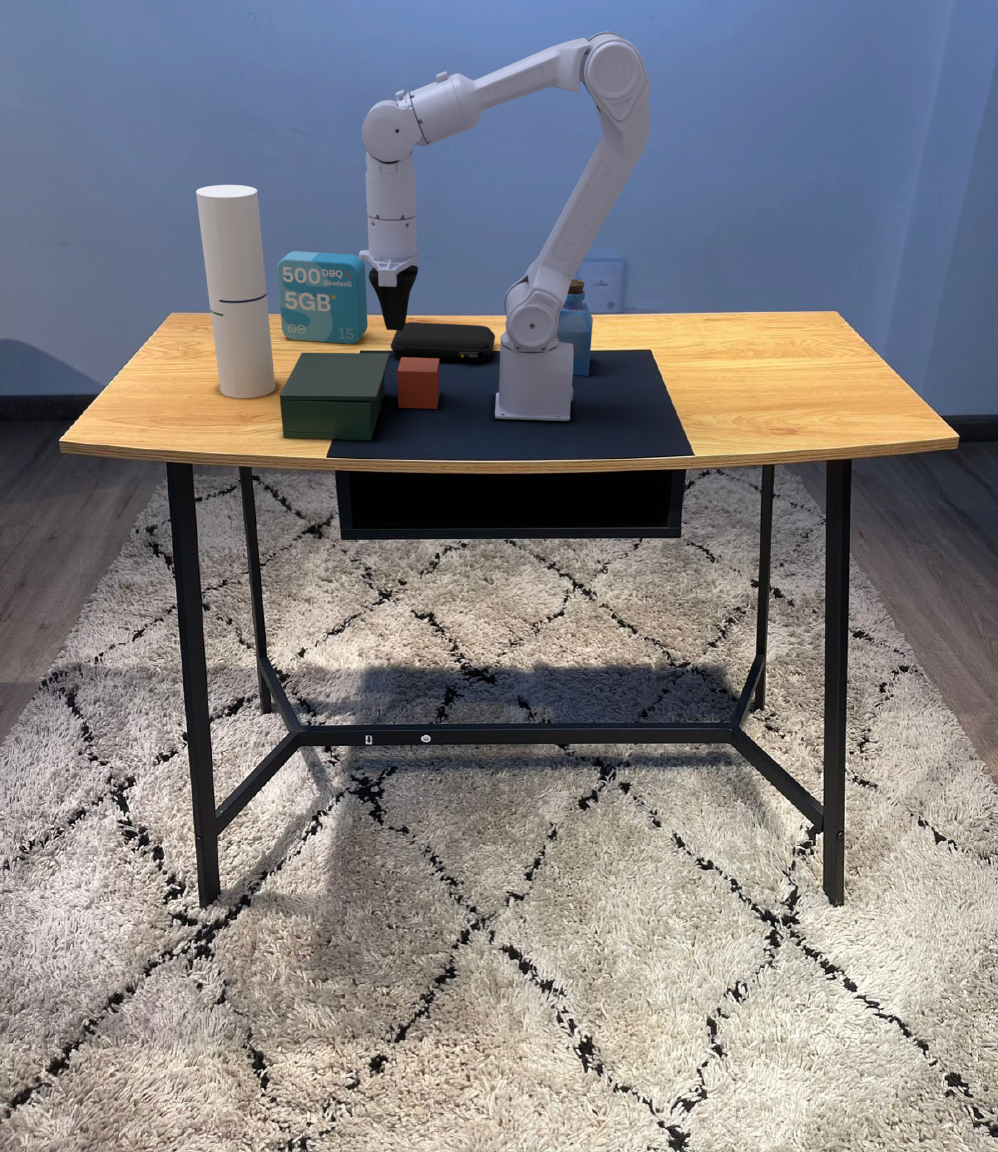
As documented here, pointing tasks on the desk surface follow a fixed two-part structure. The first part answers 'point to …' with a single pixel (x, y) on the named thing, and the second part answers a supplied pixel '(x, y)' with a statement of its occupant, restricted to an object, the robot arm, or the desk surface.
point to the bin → (331, 418)
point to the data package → (322, 297)
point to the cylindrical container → (237, 289)
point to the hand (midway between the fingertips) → (395, 328)
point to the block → (418, 383)
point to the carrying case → (444, 341)
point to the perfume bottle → (576, 327)
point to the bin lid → (336, 377)
